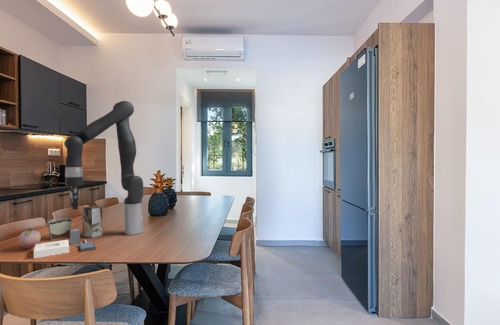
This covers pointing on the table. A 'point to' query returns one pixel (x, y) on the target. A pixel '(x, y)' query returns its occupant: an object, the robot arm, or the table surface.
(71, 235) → the charger
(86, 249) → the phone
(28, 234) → the decorative fruit
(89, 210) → the coffee box
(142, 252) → the table surface
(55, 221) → the food container
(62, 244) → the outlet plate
